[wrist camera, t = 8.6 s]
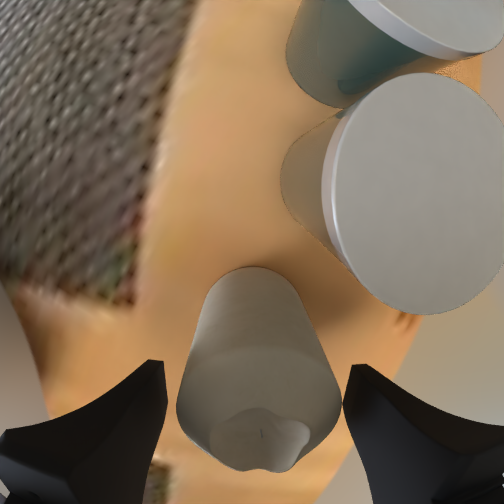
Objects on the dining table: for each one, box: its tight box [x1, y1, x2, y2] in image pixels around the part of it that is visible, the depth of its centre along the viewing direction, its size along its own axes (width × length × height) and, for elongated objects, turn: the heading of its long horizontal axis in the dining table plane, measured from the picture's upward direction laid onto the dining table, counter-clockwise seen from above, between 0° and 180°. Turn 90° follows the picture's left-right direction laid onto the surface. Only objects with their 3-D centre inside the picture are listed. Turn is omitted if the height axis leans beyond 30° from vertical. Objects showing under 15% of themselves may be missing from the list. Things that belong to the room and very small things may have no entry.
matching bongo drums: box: [280, 0, 504, 315], centre depth 10 cm, size 13×6×10 cm, turn 177°
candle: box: [176, 267, 342, 473], centre depth 13 cm, size 6×6×10 cm
